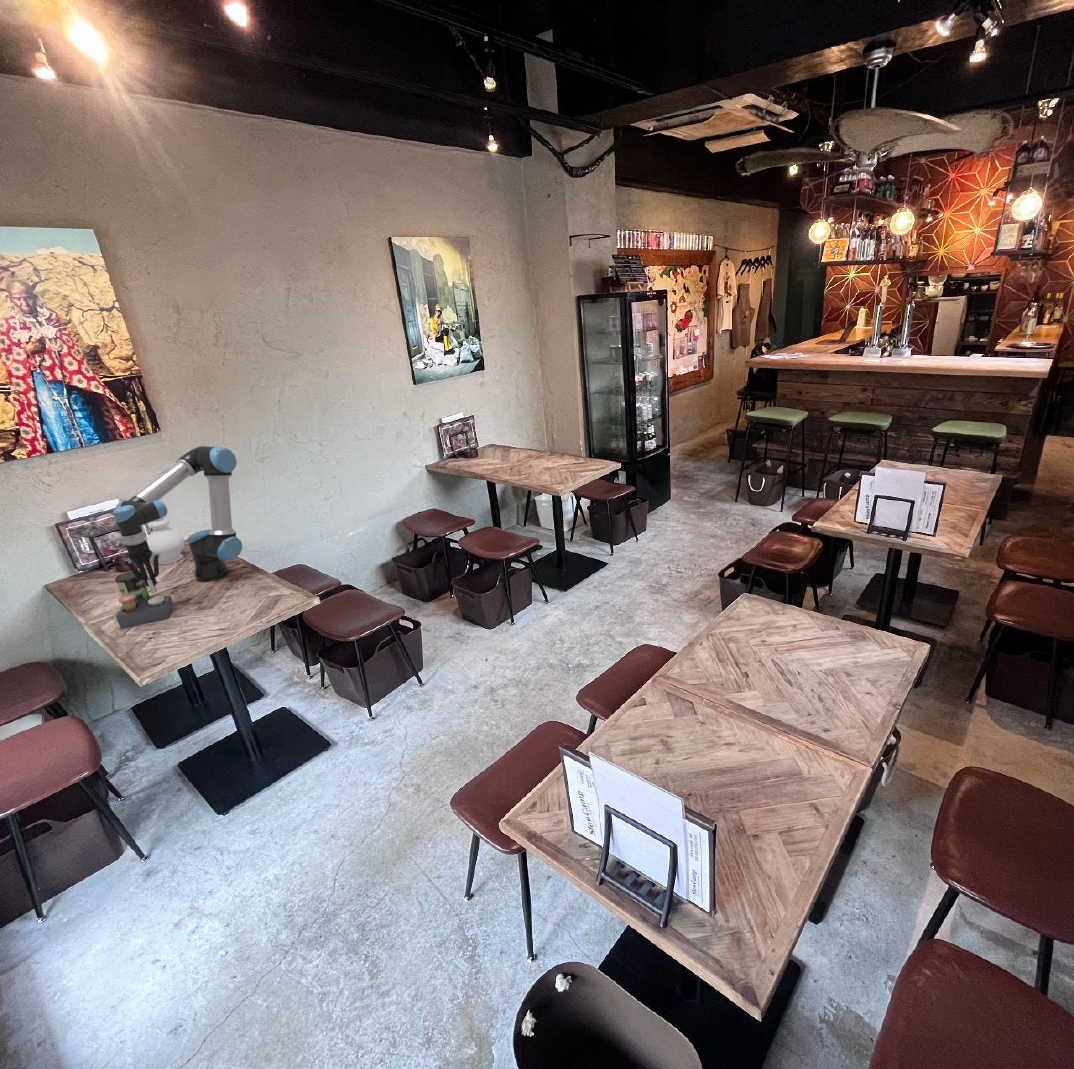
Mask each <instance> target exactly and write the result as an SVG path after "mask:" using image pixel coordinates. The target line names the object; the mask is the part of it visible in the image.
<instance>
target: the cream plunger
mask: <svg viewBox="0 0 1074 1069" xmlns="http://www.w3.org/2000/svg"><path fill="white" fill-rule="evenodd" d="M163 596H164V595H157V596H154V597H150V598H151V599H149V600H148V604H149V605H152V606H155V605H160V604H163V601H164V600H165V599H164V597H163Z"/></svg>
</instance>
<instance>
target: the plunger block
mask: <svg viewBox="0 0 1074 1069" xmlns="http://www.w3.org/2000/svg"><path fill="white" fill-rule="evenodd" d="M162 596H163V597H164V599H165V600H164V601H163V604H160V605H155V606H152V605H149V604H148V600H149V599H147V600H142V601H137V602H135V603H136V606H137V608H136V609H135V610H130V611H125V610H124V607H123V605H122V606H121V608H120V609H119V611H118V612H117V614H116V616H115V617H116V620H117V623H118V625H119V628H120V629H126V628H127V629H128V628H131V627H136V626H141V625H145V624H149V623H155V622H159V621H165V620H169V619H170V617H171V615H172V612H173V610H174V608H175V605H174V602H173V599H172V596H171V594H167V595H162Z"/></svg>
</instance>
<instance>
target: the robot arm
mask: <svg viewBox="0 0 1074 1069" xmlns="http://www.w3.org/2000/svg"><path fill="white" fill-rule="evenodd" d="M236 467H237V458H236V455H235V453H234V452H233V451H232V450H231V449H229V448H227V447H223V446H205V445H204V446H203V445H201V446H197V447H195V448H193V449H191V450H189V451H188V452H186V453H184V454H183V455H181V456H180V457H179V458H178V459H176V460H175V464H174V465H172V466H171V467H170V468H168V469H167V470H166V471H165V472H163V473H162V474H161V475H160V476H158V477H157V478H155V479H154V480H153V481H152V482H150V483H149V484H148V485H146V486H145V487H144V488H143V489H141V490H140V491H139V492H137V493H136V494H135V495H133V496H132V497H131V498H129V499H128V500H121V501H119V502H118V503H117V504H116V506H115V508H114V509H113V512H112V514H113V517H114V521H115V522H116V525H117V528H118V530H119V533H120V535H121V538H122V540H123V543H124V545H125V549H126V550H127V553H128V558H127V559H126V558H125V560H124V562H123V564H124V565H125V566H127V567H128V568H129V569H130V570H131V571H132V572H133V573H134V575H135V576H136V577H137V579H138V580H144V581H145V584H146V587H149V590H150V592H151V594H156V593H157V592H158V589H157V584H158V582H157V579H156V578H157V577H158V576H159V574H160V570H159V569H160V568H159V567H160V566H159V564H158V559H159V558H158V557H159V554H158V553H157V554H155V553H152V551H151V550H150V549H149V546H148V543H147V539H146V536H145V534H144V531H143V528H142V526H144V525H146V524H148V523H149V522H152V521H155V520H157V519H160V518H162V517H163V518H165V517H166V516H167V515H168V508H167V505H166V504H165V503H164V501H162V500H161V499H162V498H164V497H165V496H166V495H167V494H169V493H170V492H171V491H172V490H173V489H174V488H176V487H177V486H178V485H180V484H181V483H182V482H184V480H186V479H187V478H188V477H194V476H195V475H196V474H198V473H201V472H203V477H205V478H206V479H207V482H208V483H207V484H208V495H209V508H210V522H211V529H204V530H200V531H196V532H194V533H192V534H190V535H189V536H188V537H187V542H188V543H187V544H188V546H189V549H190V552H191V554H192V558H193V561H194V564H195V565H194V566H195V568H194V578H195V581H197V582H198V583H199V582H200V583H202V582H203V583H205V582H212V581H216V580H219V579H221V578H223V577H226V576H227V575H228V574H229V573H230V570H229V566H228V565H227V564H226V562H225V561H227V562H229V561H230V562H231V561H233V560H235V559H236V558H238V557H239V555H240V554H241V553H242V550H243V543H242V541H241V540H240V538H238V537H237V531H236V530H234V528H233V523H232V508H231V506H232V505H231V495H230V494H231V493H230V491H231V490H230V480H229V479H230V478H231V477H232V475H233V471H234V470H235V468H236ZM151 557H152V559H153V567H152V565H151V562H150V559H151ZM133 562H134V563H135V564H136V565H137V566H136V565H135V564H134V563H133ZM137 567H138V568H137ZM131 571H130V572H131ZM139 571H140V572H141V573H140V572H139ZM147 573H148V574H147Z"/></svg>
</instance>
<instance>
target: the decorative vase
mask: <svg viewBox="0 0 1074 1069" xmlns="http://www.w3.org/2000/svg"><path fill="white" fill-rule="evenodd" d="M169 524H170V521H169V519H168V518H165V517H162V518H160V519H157V520H155V521H152V522H149V523H147V526H148V528H149V529H152V531H151V532H150V534H149V535H148V538H147V539H146V541H147V543H148V546H149V549H150V550H151V551H152V553H155V554H157V553H158V554H159V557H158V565H167V564H172V563H175V562H178V561H181V560H182V559H183V558H184V557H185V556H184V554H182V553H181V552H182V550H183V549H184V546H185V542H186V540H185V538H184V536H183V535H182V534H181V533H180V532H178V531H177V530H175V529H174V528H171V527H169V526H168V525H169Z"/></svg>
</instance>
